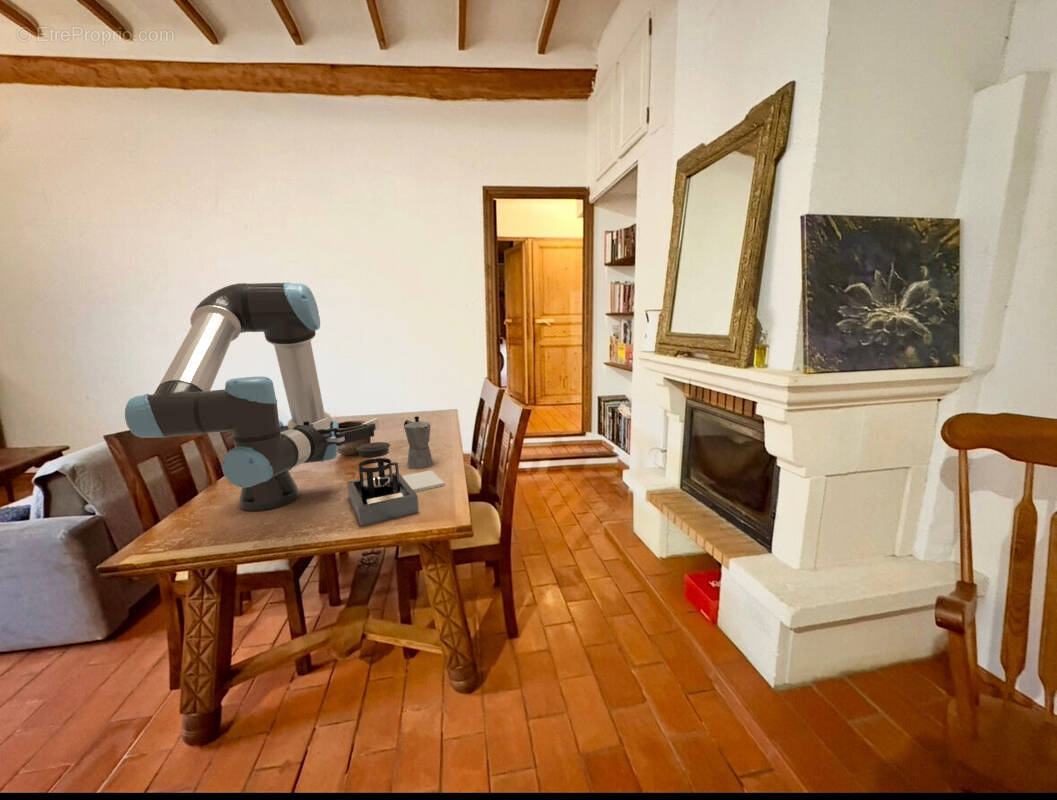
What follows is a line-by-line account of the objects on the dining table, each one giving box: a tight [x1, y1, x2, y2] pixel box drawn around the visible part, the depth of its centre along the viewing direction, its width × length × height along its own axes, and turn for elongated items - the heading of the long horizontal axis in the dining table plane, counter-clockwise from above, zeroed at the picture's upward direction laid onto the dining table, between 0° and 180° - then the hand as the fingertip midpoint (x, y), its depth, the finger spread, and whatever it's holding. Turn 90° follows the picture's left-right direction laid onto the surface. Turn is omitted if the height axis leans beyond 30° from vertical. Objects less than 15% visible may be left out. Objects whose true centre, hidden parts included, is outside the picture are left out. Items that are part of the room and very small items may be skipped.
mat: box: [401, 469, 446, 493], centre depth 142 cm, size 11×14×1 cm
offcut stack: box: [366, 493, 403, 504], centre depth 119 cm, size 11×4×5 cm, turn 120°
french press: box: [356, 436, 400, 505], centre depth 125 cm, size 12×9×23 cm
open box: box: [346, 472, 420, 528], centre depth 125 cm, size 15×22×5 cm
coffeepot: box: [403, 416, 434, 470], centre depth 159 cm, size 15×9×18 cm, turn 45°
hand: (352, 423), depth 113 cm, fingers open, 13 cm apart
